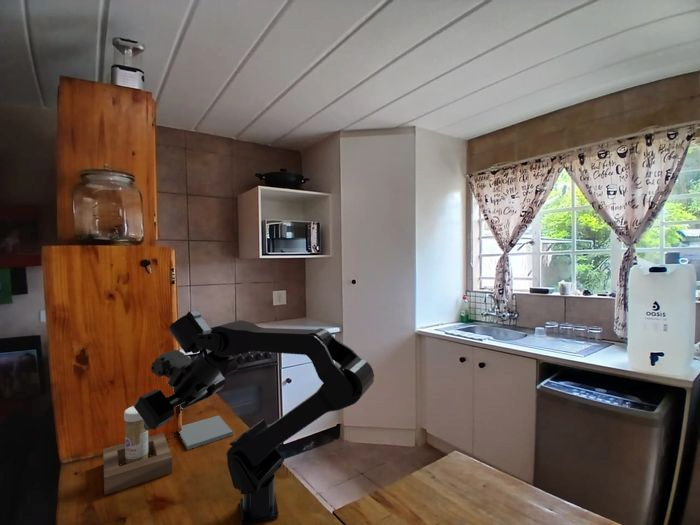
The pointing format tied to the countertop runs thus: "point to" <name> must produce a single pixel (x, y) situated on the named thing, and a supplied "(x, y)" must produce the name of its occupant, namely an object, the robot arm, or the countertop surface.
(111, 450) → the bottle holder
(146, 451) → the sprinkles bottle
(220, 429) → the slate mat
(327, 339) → the robot arm
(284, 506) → the countertop surface
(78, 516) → the countertop surface
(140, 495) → the countertop surface
